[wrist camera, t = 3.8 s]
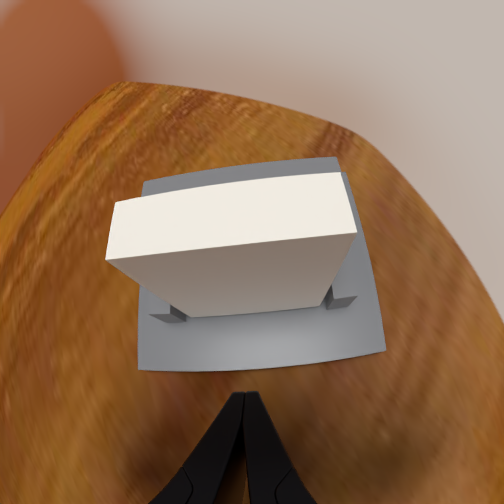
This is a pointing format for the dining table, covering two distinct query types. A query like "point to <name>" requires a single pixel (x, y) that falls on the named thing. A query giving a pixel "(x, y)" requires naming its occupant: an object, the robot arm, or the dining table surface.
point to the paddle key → (236, 243)
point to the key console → (265, 323)
